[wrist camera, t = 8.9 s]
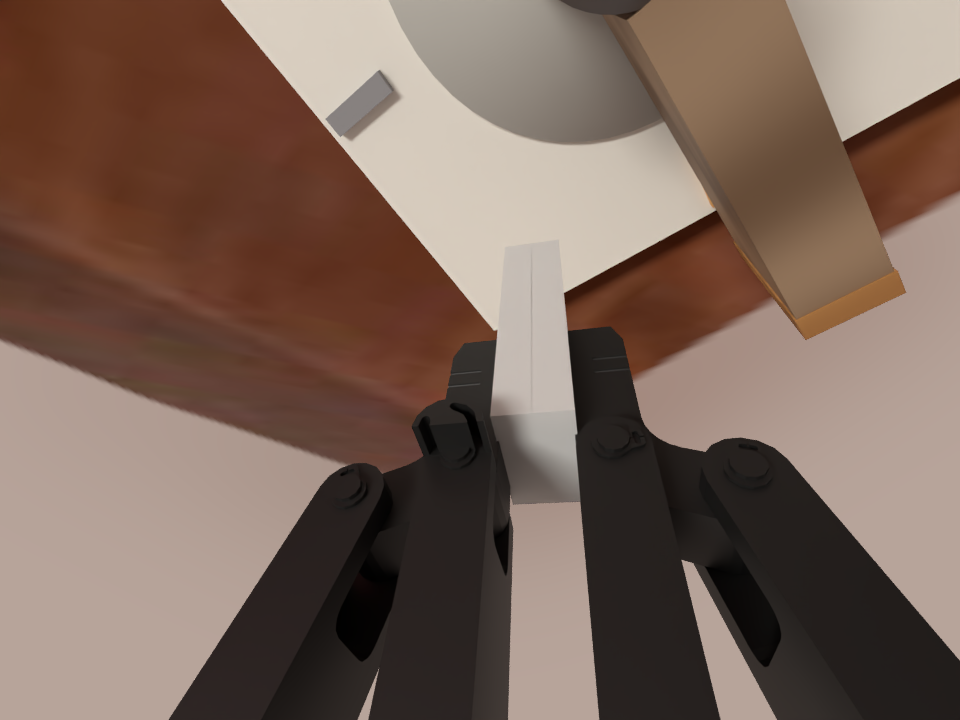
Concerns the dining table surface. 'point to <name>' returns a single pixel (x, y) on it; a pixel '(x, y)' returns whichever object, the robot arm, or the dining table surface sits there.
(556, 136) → the panel
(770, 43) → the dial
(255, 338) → the dining table surface
